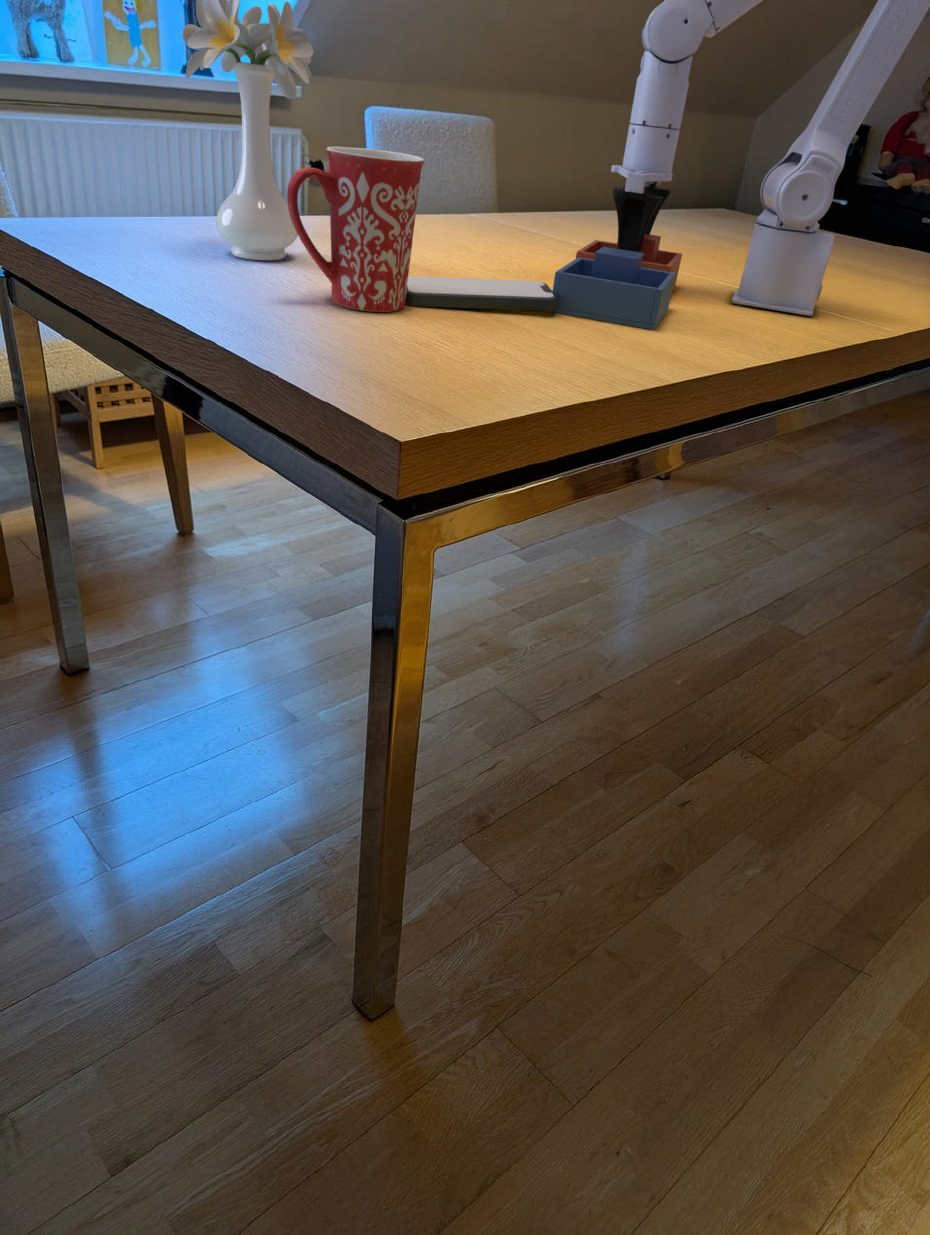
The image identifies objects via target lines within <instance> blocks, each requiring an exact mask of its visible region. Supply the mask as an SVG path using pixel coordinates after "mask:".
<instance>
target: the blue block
mask: <svg viewBox="0 0 930 1235" xmlns="http://www.w3.org/2000/svg"><path fill="white" fill-rule="evenodd" d="M643 256H644V253H640V252H634V251H628V250H621V249H615V248H609V247H602V248H601V249H599V250H598V251H596V252H595V256H594V262H593V268H592V275H591V277H595V278H601V279H607V280H613V281H619V282H625V283H631V284H637V285H638V281H639V276H640V271H641V266H642V261H643Z"/></svg>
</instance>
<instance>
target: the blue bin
mask: <svg viewBox="0 0 930 1235" xmlns="http://www.w3.org/2000/svg"><path fill="white" fill-rule="evenodd" d="M593 262H594V260H592V259H586V258H580V257H578V258H576V257H575V259H573V260H571V261H570V262H568V263H567V264H566V265H563V266H562V267H561V268H559V269H558V270H556V271H555V272H554V277H553V284H552V293H553V294H555V295H556V296H557V297H558V305H557V309H555V310H553V311H549V312H551V313H554V314H555V313H556V314H563V315H566V316H572V317H579V318H585V319H590V320H595V321H602V322H607V323H613V324H618V325H623V326H628V327H629V326H630V327H635V328H641V329H646V330H651V331H654V330H656V329H657V326H658V325H659V324H660V322H661V321H662V320H663V317H664V316H665V315H666V313H667V312H668V311H669V308H670V302H671V298H672V293H673V290H674V289H673V284H674V279H675V275H676V273H672V272H671V273H670V272H666V271H660V270H654V269H648V268H642V267H641V271H640V276H639V281H638V285H637V284H631V283H625V282H619V281H613V280H607V279H601V278H595V277H591V275H592V268H593ZM672 289H673V290H672Z"/></svg>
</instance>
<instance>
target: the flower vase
mask: <svg viewBox="0 0 930 1235" xmlns="http://www.w3.org/2000/svg"><path fill="white" fill-rule="evenodd" d="M240 6H241V0H205V1H204V0H196V1H195V11H196V18H197V19H196V20H197V22H198V24H199V26H198V25H195V24H193V23H189V24H186V25H185V26H184V28H183V29H182V39H183V42H184V44H185V45H187V47H188V48H190V49H192V50H196V51H195V52H194V53H193V54H192V55H191V57H190V58H189V60H188V63H187V65H186V70H185V78H186V79H189V78H191V77H192V76H193V75H194V73H195V72H196V71H198V69H199V70H201V71H203V70H204V69H208V68H210V66H212V65H213V64H214V63H215V62H216V60H217V59H218V58H219V57H220V56H221V55H222V57H221V63H220V64H221V69H222V71H223V72H224V73H230V72H232V71H234V73H235V76H236V80H237V85H238V91H239V97H240V106H241V107H240V109H241V158H240V168H239V173H238V177H237V180H236V183H235V186H234V187H233V189H232V191H231V192H230V194H229V195H228V196H227V197H226V198H225V199H224V200H223V202H222V203H221V205H220V206H219V207H218V210H217V214H216V219H215V226H216V229H217V231H218V232H219V234H220V235H221V237H222V238H223V240H225V241H226V242H227V243H228V244H230V245H231V249H230V251H231V254H232V255H233V256H235V257H238V258H241V259H246V260H250V261H251V260H252V261H265V262H266V261H279V260H283V259H284V258H286V256H287V254H286V253H287V252H286V250H285V249H288V247H289V246H291V245H293V243H294V242H295V241H296V240H297V238H298V237H299V236H298V234H297V232H296V230H295V228H294V226H293V223H292V221H291V218H290V214H289V210H288V203H287V199H285V198H284V196H283V195H282V193H281V190H280V188H279V186H278V183H277V180H276V177H275V172H274V168H273V161H272V148H271V146H272V145H271V127H270V107H271V106H270V105H271V96H272V89H273V88H272V87H273V83H274V82H273V81H275V84H276V86H277V88H278V90H279V91H280V93H282V95H283V96H284V97H285V98H286V99H289V100H294V98H296V96H297V91H298V90H297V84H296V81H295V79H294V75H293V74H292V72H291V71H290V70H292V71H293V72H294V73H296V74H297V76H298V77H299V78H300V79H301V80H302V81H303V82H304V83H305V84H306V85H310V79H311V78H312V76H313V75H312V72H311V70H310V68H309V65H310V63H311V62H312V56H313V54H314V49H313V46H312V44H311V42H309V36H308V34H307V32H306V31H305V30H304V29H302V28H299V27H296V28H295V16H294V11H293V8H292V5H291V3H290V2H289V1H284V3H283V5H282V8H281V13H280V11H279V8H278V7H277V6H276V5H275V3H274V2H269V4H268V5H267V7H266V10H267V22H262V23H261V20H262V16H263V10H262V8H261V7H260V6H257V5H256V6H255V5H254V6H252V7H251V8H249V9H248V10H247V11H246V12H245V13H244V14H243V15H242V16H243V17H242V18H241V20H240V17H239V11H240ZM244 56H247V58H248V59H249V62H244V61H242V60H241V59H242V57H244ZM289 69H290V70H289Z"/></svg>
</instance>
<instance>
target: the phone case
mask: <svg viewBox="0 0 930 1235" xmlns="http://www.w3.org/2000/svg"><path fill="white" fill-rule="evenodd" d="M552 291H553V289H551V287H550V286H549V285H548V284H547V283H545V282H542V281H537V280H517V279H494V278H493V279H490V278H465V277H464V278H463V277H441V276H440V277H439V276H413V275H412V276H408V282H407V291H406V299H405V305H407V306H408V307H409V306H410V307H419V308H420V307H422V308H423V307H425V308H452V309H453V308H454V309H479V310H480V309H481V310H482V309H485V310H507V311H508V310H511V311H524V312H525V311H526V312H550V311H553V310H555V309H557V305H558V297H557V296H556V295H555V294H553V293H552Z"/></svg>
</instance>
